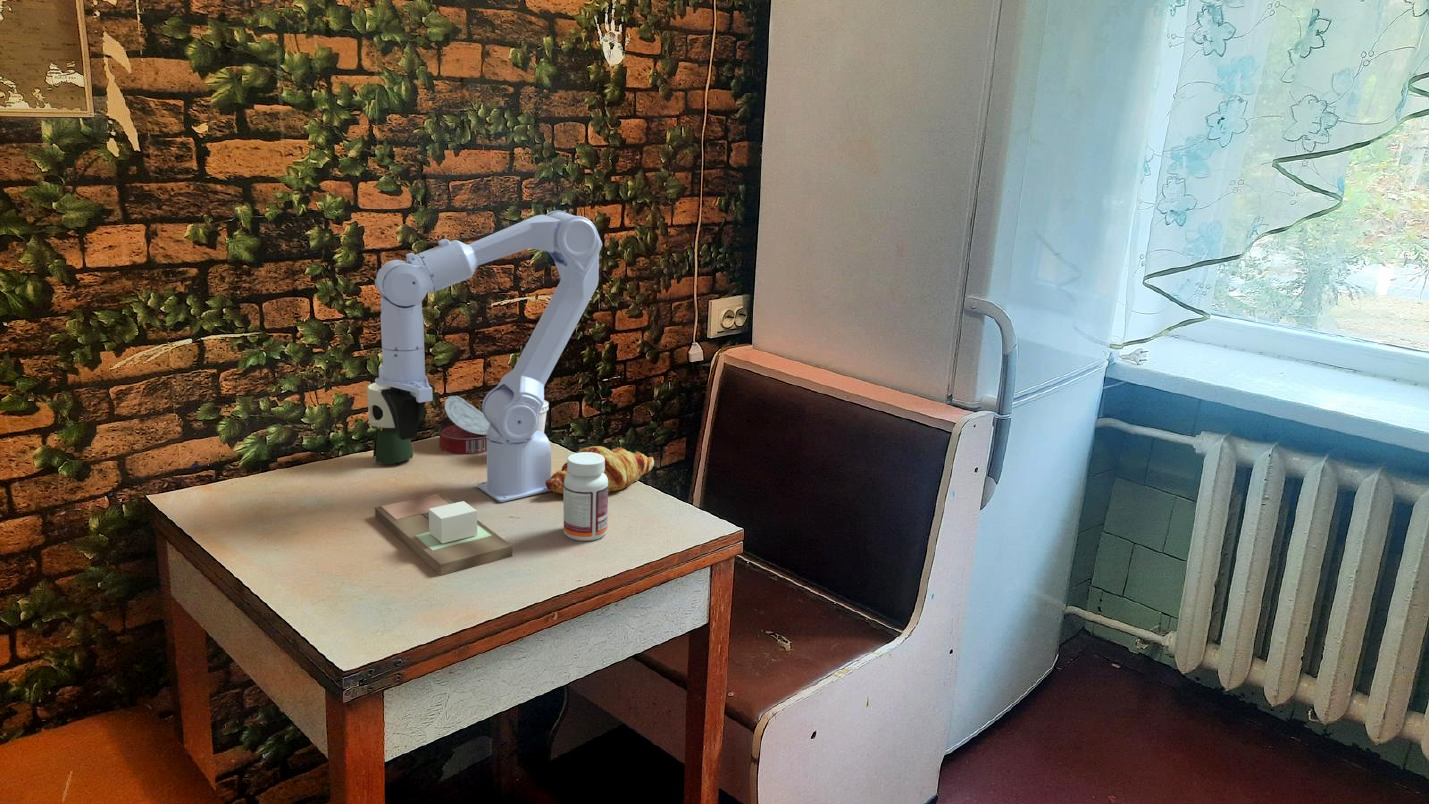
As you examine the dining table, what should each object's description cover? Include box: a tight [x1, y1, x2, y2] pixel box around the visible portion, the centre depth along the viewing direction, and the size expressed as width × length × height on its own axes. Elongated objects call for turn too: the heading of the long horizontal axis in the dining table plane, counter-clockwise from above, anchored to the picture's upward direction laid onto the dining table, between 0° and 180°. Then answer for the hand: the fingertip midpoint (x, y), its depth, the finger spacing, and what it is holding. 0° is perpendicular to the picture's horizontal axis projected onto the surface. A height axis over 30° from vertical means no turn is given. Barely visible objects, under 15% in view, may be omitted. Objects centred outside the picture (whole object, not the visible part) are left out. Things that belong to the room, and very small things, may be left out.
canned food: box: [438, 395, 490, 455], centre depth 166 cm, size 11×10×10 cm
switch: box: [374, 493, 513, 576], centre depth 130 cm, size 10×22×2 cm, turn 40°
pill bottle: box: [563, 452, 609, 542], centre depth 132 cm, size 6×6×11 cm
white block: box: [429, 500, 478, 544], centre depth 126 cm, size 5×4×4 cm
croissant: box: [546, 445, 655, 495], centre depth 151 cm, size 21×10×8 cm, turn 136°
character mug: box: [366, 382, 414, 465], centre depth 156 cm, size 11×7×13 cm, turn 37°
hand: (406, 437), depth 138 cm, fingers closed
